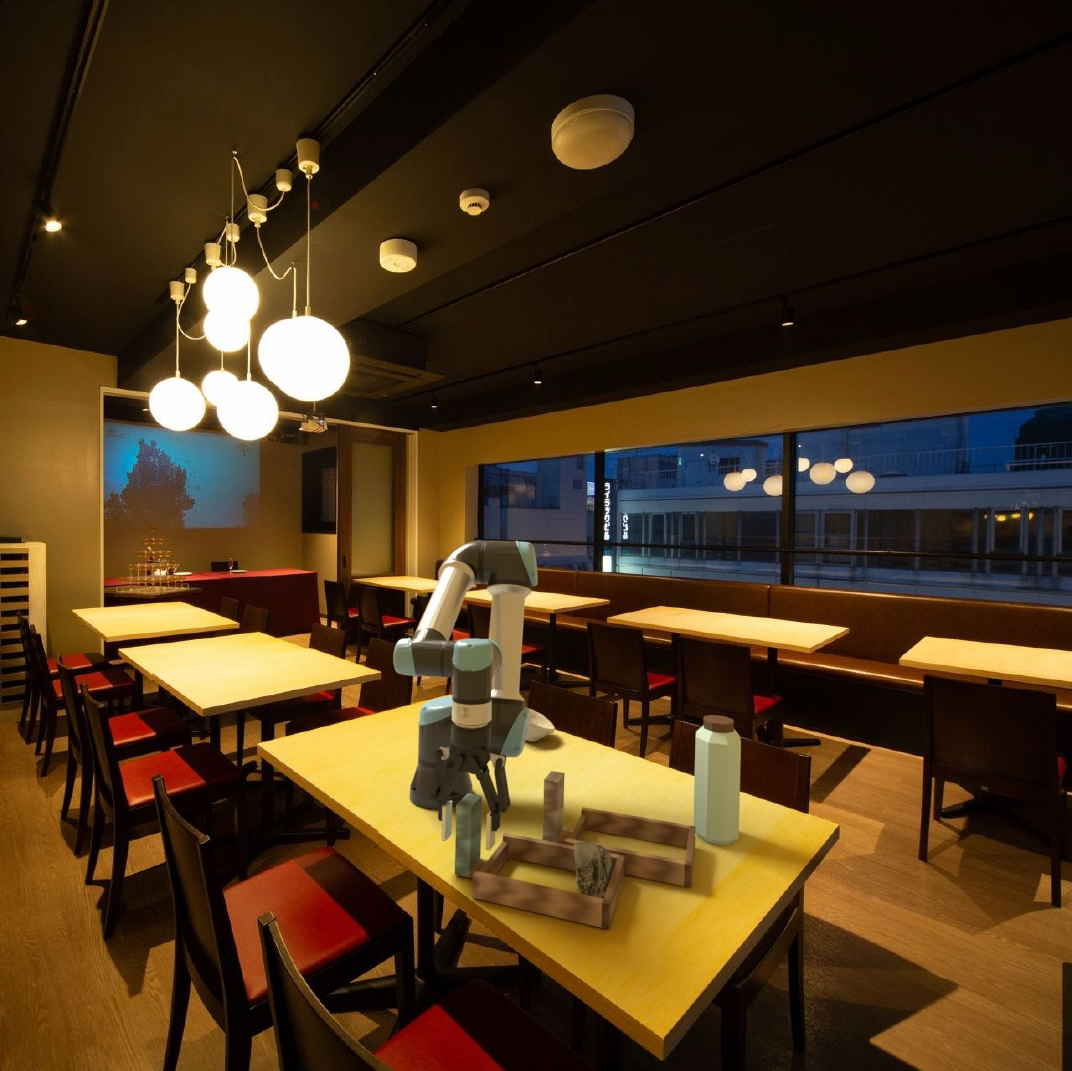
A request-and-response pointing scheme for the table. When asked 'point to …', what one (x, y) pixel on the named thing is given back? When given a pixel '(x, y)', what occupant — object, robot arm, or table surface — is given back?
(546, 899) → the frame
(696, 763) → the water bottle
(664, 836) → the empty lane
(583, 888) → the stone
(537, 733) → the bowl
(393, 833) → the table surface
